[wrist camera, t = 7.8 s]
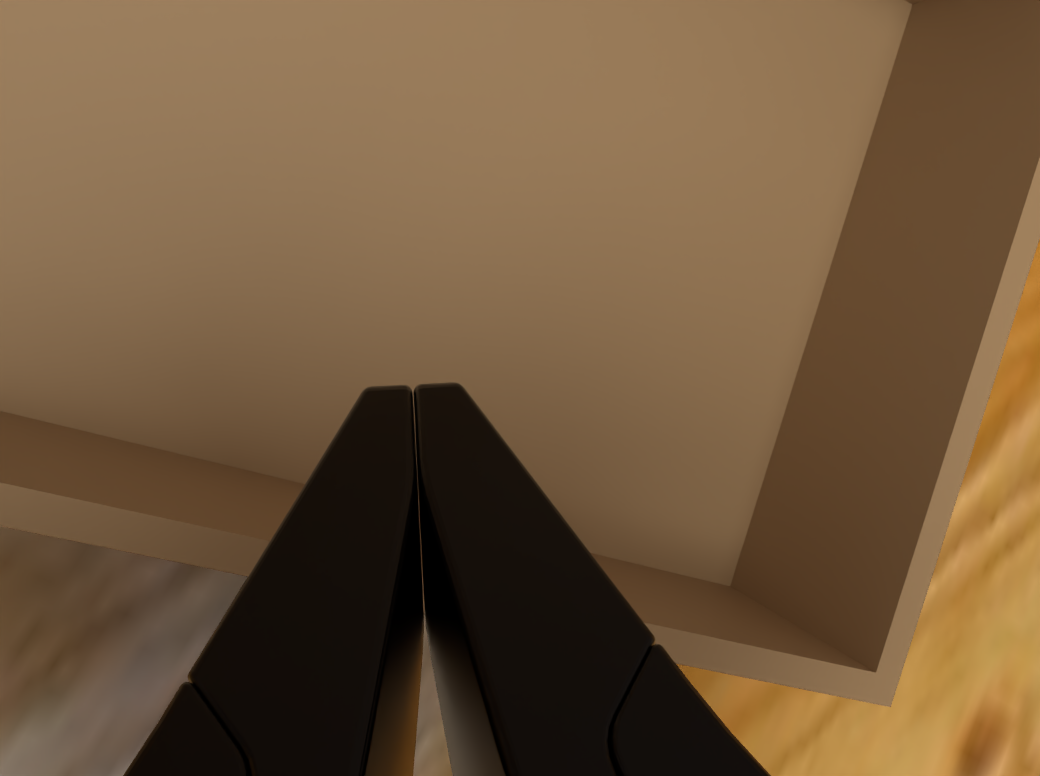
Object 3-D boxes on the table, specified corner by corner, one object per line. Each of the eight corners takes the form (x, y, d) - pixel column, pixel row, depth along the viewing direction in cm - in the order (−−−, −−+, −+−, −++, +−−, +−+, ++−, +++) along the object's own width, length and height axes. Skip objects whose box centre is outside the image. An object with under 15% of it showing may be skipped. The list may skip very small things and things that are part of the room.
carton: (730, 606, 25) (890, 706, 19) (-443, 334, 17) (-759, 371, 11) (921, -4, 25) (1141, -82, 19) (-179, -590, 16) (-369, -1040, 11)
